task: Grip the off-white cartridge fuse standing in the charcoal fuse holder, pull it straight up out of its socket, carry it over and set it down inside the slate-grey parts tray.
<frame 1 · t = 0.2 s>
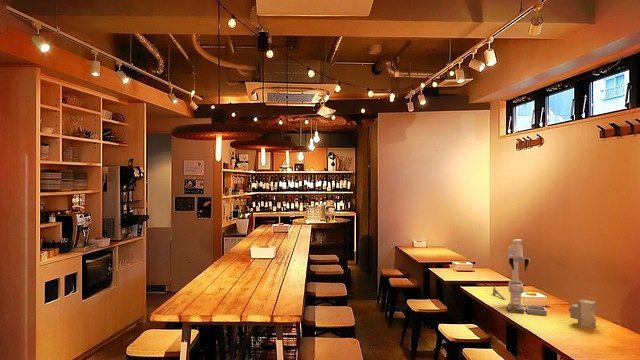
hand: (519, 269, 322), 31 cm above the table, tool tilted 45°, fingers open, 7 cm apart
fuse holder: (515, 310, 334), on the table
caliper: (499, 297, 375), on the table
fuse: (515, 304, 334), in the fuse holder
circuit breaker: (581, 324, 303), on the table
parts tray: (535, 312, 330), on the table
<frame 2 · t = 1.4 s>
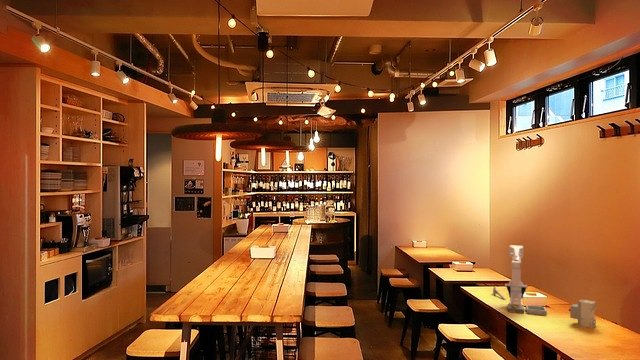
hand: (515, 297, 334), 9 cm above the table, tool pointing down, fingers open, 7 cm apart
nothing on the table moved.
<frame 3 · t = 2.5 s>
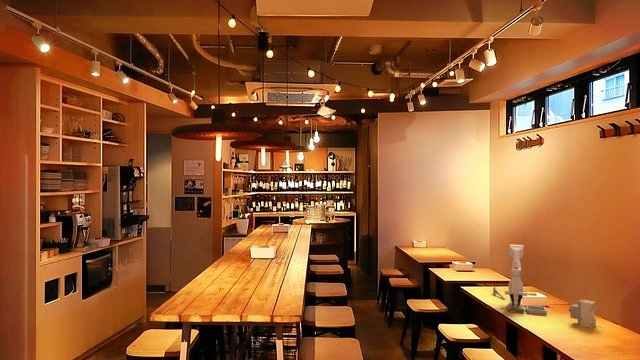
hand: (515, 305, 334), 3 cm above the table, tool pointing down, fingers closed on fuse, 3 cm apart
fuse: (515, 304, 334), in the fuse holder, touching gripper
everything else where it was.
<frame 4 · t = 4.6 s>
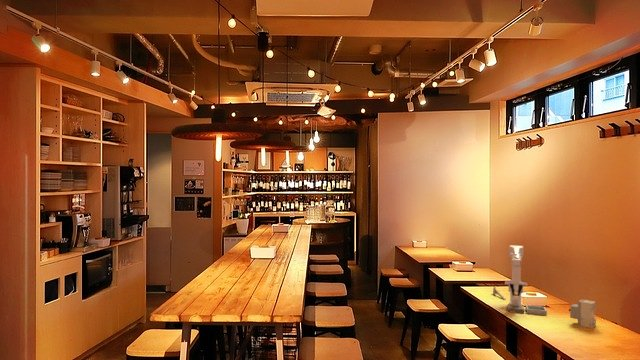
hand: (515, 295, 334), 10 cm above the table, tool pointing down, fingers closed on fuse, 3 cm apart
fuse: (515, 294, 334), point 11 cm above the table, touching gripper
everything else where it was.
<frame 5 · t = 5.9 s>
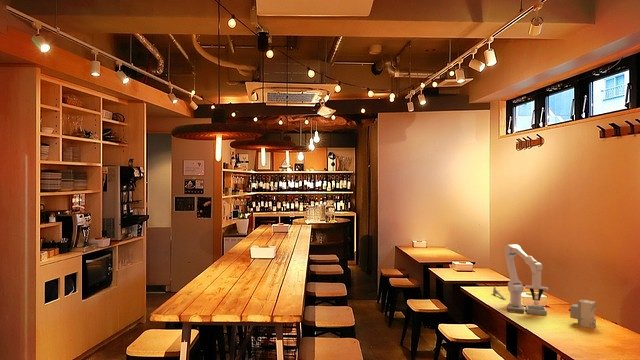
hand: (536, 300, 330), 8 cm above the table, tool pointing down, fingers closed on fuse, 3 cm apart
fuse: (536, 299, 330), point 9 cm above the table, touching gripper
everything else where it was.
when the fingers open (5 cm above the table, at t = 6.7 s): fuse drops 1 cm, resting on parts tray.
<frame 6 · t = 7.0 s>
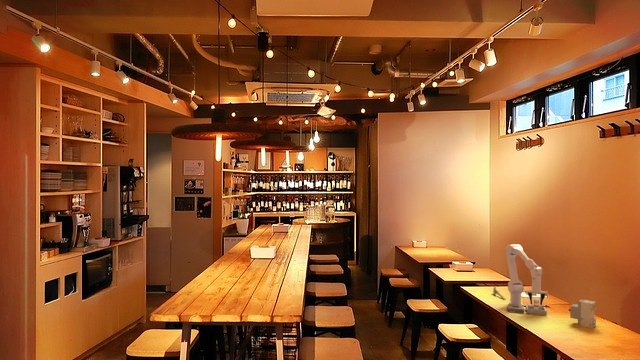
hand: (536, 304, 330), 5 cm above the table, tool pointing down, fingers open, 5 cm apart
fuse: (536, 305, 330), in the parts tray, point 5 cm above the table
everything else where it was.
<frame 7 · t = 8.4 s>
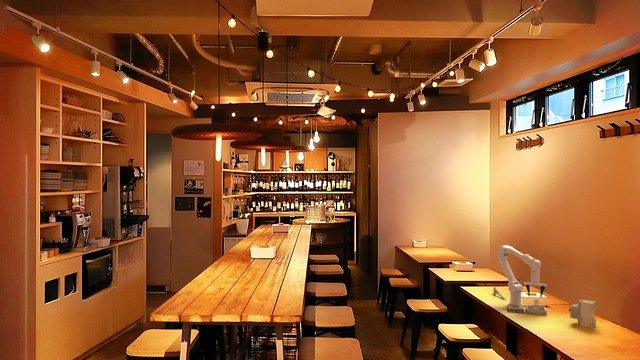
hand: (534, 296, 336), 9 cm above the table, tool pointing down, fingers open, 7 cm apart
nothing on the table moved.
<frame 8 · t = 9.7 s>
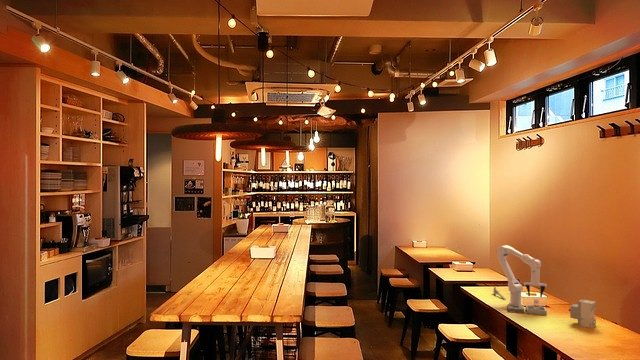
hand: (535, 296, 337), 9 cm above the table, tool pointing down, fingers open, 7 cm apart
nothing on the table moved.
at the end: fuse inside the target area on the parts tray (0.1 cm from its centre), point 4.6 cm above the parts tray's base; the gripper is holding nothing; fuse touching parts tray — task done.
